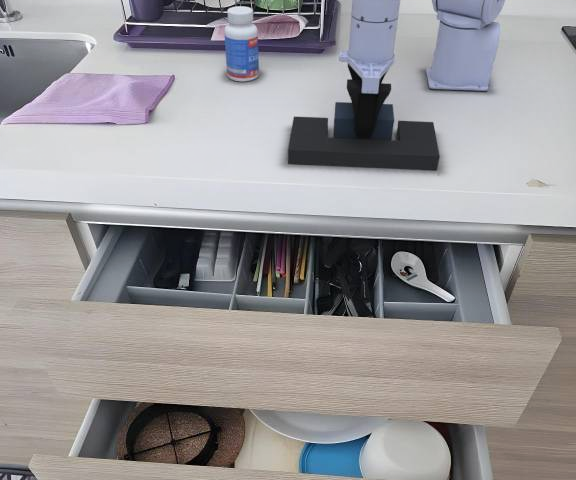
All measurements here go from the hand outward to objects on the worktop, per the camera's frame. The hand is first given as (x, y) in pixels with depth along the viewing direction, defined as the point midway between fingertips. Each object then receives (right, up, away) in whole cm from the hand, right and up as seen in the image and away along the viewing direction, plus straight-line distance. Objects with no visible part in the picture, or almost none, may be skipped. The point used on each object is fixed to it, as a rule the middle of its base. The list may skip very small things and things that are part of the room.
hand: (363, 126), depth 81 cm
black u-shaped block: (0, -3, +1) cm, 3 cm away
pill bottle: (-18, +16, +17) cm, 30 cm away
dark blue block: (0, -1, +1) cm, 1 cm away
